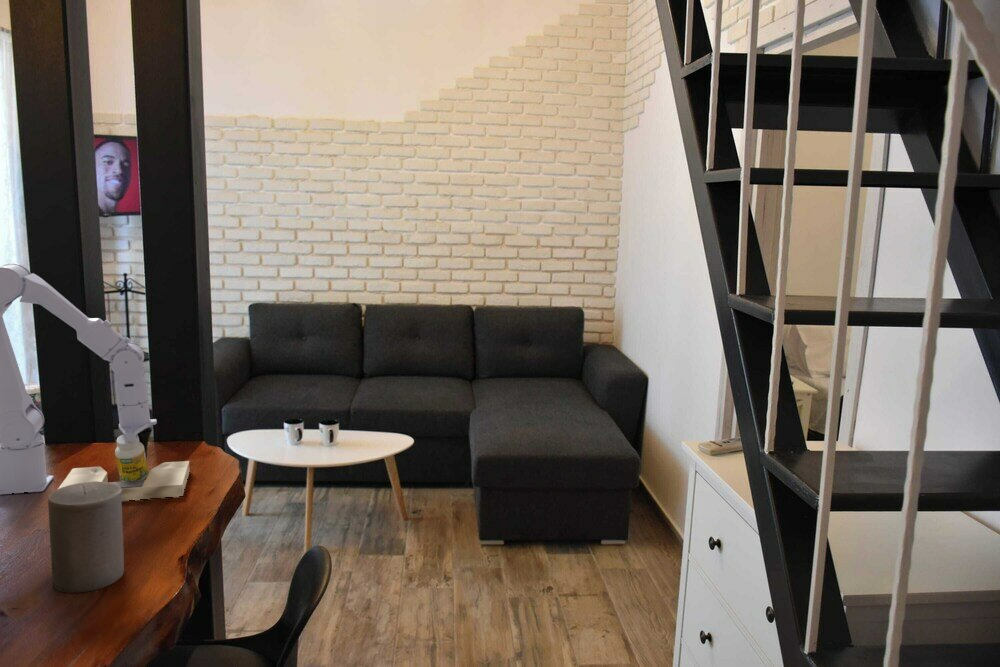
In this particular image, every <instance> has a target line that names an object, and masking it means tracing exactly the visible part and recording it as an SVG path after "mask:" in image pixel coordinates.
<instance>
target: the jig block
mask: <svg viewBox="0 0 1000 667" xmlns="http://www.w3.org/2000/svg"><path fill="white" fill-rule="evenodd" d="M190 470H191V469H190V460H184V461H183V460H182V461H166V462H162V463H160V464H158V465H156V466H154V467H153V468H151V469H150V470H149V471H148V475H147V477H146V478H145V479H144V480H137V481H123V482H122V481H112V482H111V481H109V480H108V472H107V471H106V470H105V469H104V468H102V467H101V466H88V467H75V468H74V467H73V468H72V469H71V470H70V472H69V473H68V474H67V475H66V478H64V479H63V481H62V483H61V484H60V485H59V487H58V488H57V489H59V488H62V487H65V486H68V485H73V484H77V483H84V482H91V481H98V482H108V481H109V483H113V484H117V485H118V486H120V487H121V489H122V492H121V496H122V502H130V501H129V500H135V501H141V500H140V499H148V500H151V499H150V498H161V499H166V498H165V497H173V498H180V497H179V496H184V492H185V490H186V487H187V484H188V480H187V479H189V475H190V473H189V472H190ZM184 489H185V490H184Z"/></svg>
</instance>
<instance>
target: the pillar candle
mask: <svg viewBox="0 0 1000 667" xmlns="http://www.w3.org/2000/svg"><path fill="white" fill-rule="evenodd" d="M109 482H110V481H109ZM109 482H98V481H91V482H84V483H77V484H73V485H68V486H65V487H62V488H59V487H58V488H59V489H58V488H57V489H55V490H54V491H52V492H51V493H50V494H49V496H48V500H47V501H48V502H47V503H48V525H49V544H50V560H51V574H52V576H51V577H52V581H51V582H52V587H53V588H54V589H55V590H57V591H58V592H62V593H67V594H71V593H72V594H73V593H77V594H79V593H86V592H92V591H97V590H101V589H102V588H105V587H108V586H110V585H112V584H114V583H115V582H117V581H119V579H121V578H122V577H123V575H124V572H125V558H124V556H125V554H124V530H123V529H124V528H123V525H124V524H123V506H122V505H123V504H122V503H123V501H122V496H121V492H122V489H121V487H120V486H118V485H117V484H113V483H109Z"/></svg>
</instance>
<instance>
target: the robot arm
mask: <svg viewBox="0 0 1000 667" xmlns="http://www.w3.org/2000/svg"><path fill="white" fill-rule="evenodd" d="M18 298H20V299H19V303H27V304H33V305H34V304H35V305H39V306H42V307H43V308H44V309H46V310H47V311H49V313H51V314H52V315H54V316H56V317H57V318H59V319H60V320H61V321H63V322H64V323H65V324H67V325H68V326H70V327H71V328H73V329H74V330H75V331H76V338H77V341H78V342H80V343H82V344H83V345H84V346H86V347H87V348H88V349H89V350H91V351H92V352H94V353H95V355H98V356H99V357H100V358H101V359H102V360H104V361H107V362H109V368H110V369H111V371H112V372H113V373H114V380H115V381H114V389H115V396H116V405H117V414H118V421H119V423H118V429H119V430H120V431H121V433H120V435H119V436H121V435H123V434H124V438H125V443H128V442H136V441H137V438H136V435H138V437H139V442H141V443H142V444H143V446H144V449H145V455H146V460H147V457H148V447H149V446H148V445H149V441H150V440H149V439H150V436H151V434H152V431H153V428H152V427H150V426H153V425H154V426H155V425H156V424H158V423H157V422H158V421H157V419H156V418H153V419H151V415H150V406H149V405H150V404H149V397H148V396H149V395H148V386H147V380H146V377H145V374H146V373H145V370H144V366H143V365H144V360H145V352H144V350H143V349H142V348H141V346H140V345H139V344H138V343H137V342H134V341H131V339H130V338H129V337H124V336H123V335H121V333H120V332H118V331H116V330H115V329H114V328H113V327H111V325H112V322H110V321H109V320H108V319H105V320H103V319H101V318H100V317H94V318H93V317H89V316H87V315H86V314H85V313H84V312H82V311H81V310H80V309H79V308H78V307H76V306H75V305H74V304H73V303H72V302H70V300H68V299H67V298H65V296H64V295H62V294H61V293H60V292H59V291H58V290H56V289H55V288H54V287H53V286H52V285H51V284H49V283H48V282H47V281H45V280H44V279H43V278H41V277H40V276H39V275H37V274H35V273H34V272H33V273H31V272H30V270H29V269H28V268H27V267H26V266H24V265H22V264H19V263H14V262H13V263H11V262H10V263H7V264H3V265H2V266H0V495H12V493H14V494H25V493H24V492H28V493H39V492H44V490H45V489H46V488H47V487H48V485H49V484H50V483H51V482H52V481H53V479H54V475H47V467H46V465H47V464H46V453H45V452H46V450H45V438H44V437H43V436H42V435H41V433H40V430H41V429H42V428H43V426H44V424H45V417H44V414H43V412H42V410H41V409H39V408H38V407H37V406H36V405H35V403H34V399H33V397H32V396H31V395H30V394H29V393H28V392H27V388H26V386H25V383H24V380H23V376H22V373H21V371H20V367H19V363H18V362H17V358H16V355H15V352H14V349H13V346H12V342H11V339H10V336H9V333H8V330H7V327H6V324H5V320H4V317H3V315H4V314H5V313H6V311H7V310H8V309H9V307H10V306H11V305H12V304H13V302H14V301H16V300H17V299H18Z"/></svg>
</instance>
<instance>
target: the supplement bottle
mask: <svg viewBox="0 0 1000 667" xmlns="http://www.w3.org/2000/svg"><path fill="white" fill-rule="evenodd" d="M120 435H121V434H120ZM120 435H119V436H117V439H116V446H117V447H116V448H115V451H114V456H115V459H116V460H115V461H116V467H117V470H118V475H119V476H118V477H119V480H120V482H123V481H137V480H146V479H147V477H148V474H149V469H148V467H149V466H148V462H147V459H146V455H145V449H144V446H143V444H142V443H141V442H139V437H138V435H136V438H137V441H136V442H128V443H125V438H124V434H123V435H121V436H120Z"/></svg>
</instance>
